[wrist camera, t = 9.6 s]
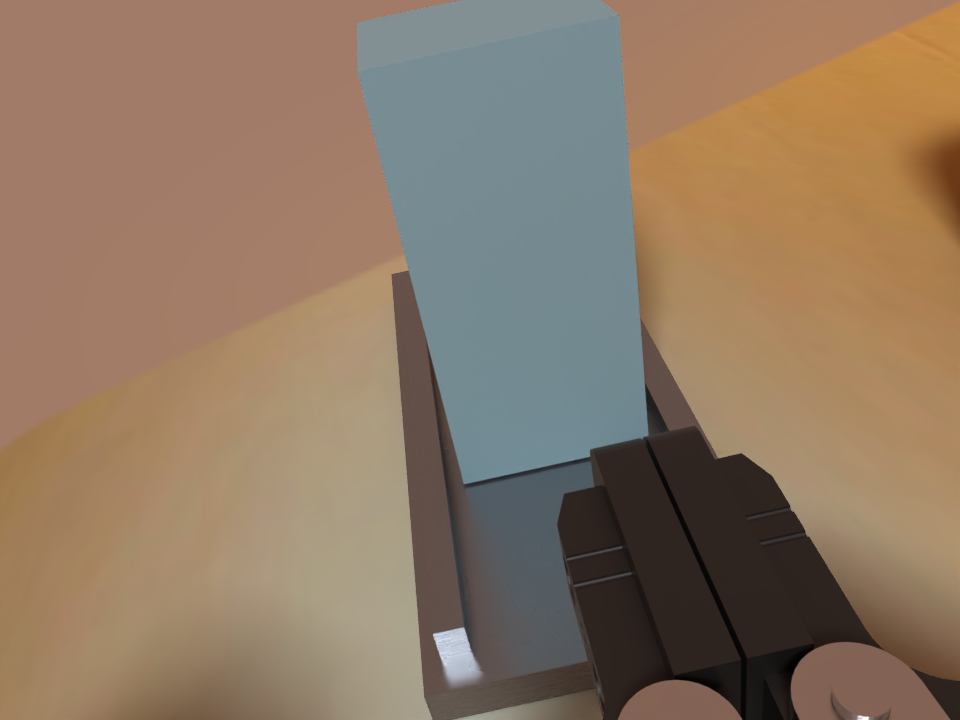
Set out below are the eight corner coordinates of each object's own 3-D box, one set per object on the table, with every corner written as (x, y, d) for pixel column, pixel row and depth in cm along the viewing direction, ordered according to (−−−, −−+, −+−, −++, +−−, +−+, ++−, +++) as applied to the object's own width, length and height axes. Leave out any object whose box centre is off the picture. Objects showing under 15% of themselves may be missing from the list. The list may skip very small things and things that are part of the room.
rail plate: (801, 642, 21) (815, 486, 17) (434, 723, 21) (381, 582, 17) (593, 253, 39) (582, 141, 36) (397, 295, 39) (367, 187, 35)
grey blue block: (648, 444, 26) (618, 14, 18) (463, 484, 26) (357, 71, 18) (567, 267, 35) (526, -59, 28) (433, 296, 35) (356, -22, 28)
